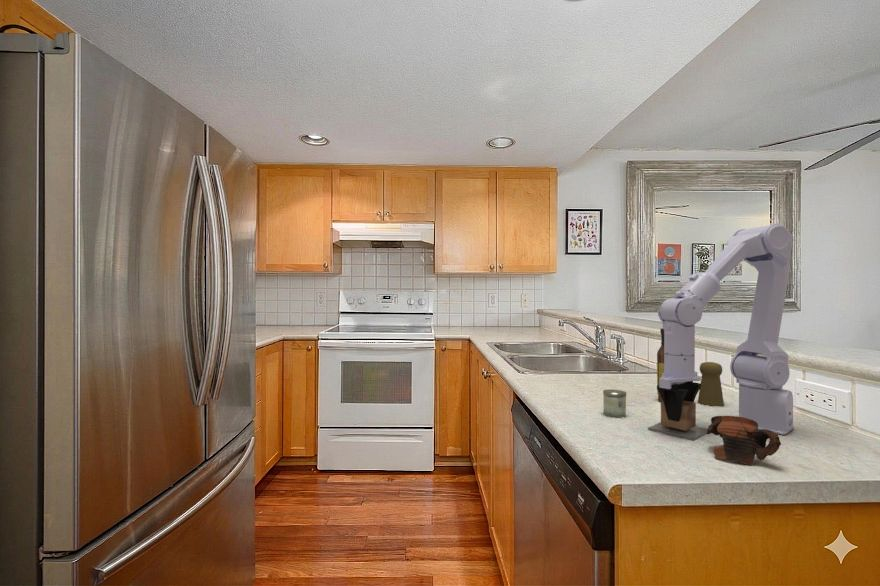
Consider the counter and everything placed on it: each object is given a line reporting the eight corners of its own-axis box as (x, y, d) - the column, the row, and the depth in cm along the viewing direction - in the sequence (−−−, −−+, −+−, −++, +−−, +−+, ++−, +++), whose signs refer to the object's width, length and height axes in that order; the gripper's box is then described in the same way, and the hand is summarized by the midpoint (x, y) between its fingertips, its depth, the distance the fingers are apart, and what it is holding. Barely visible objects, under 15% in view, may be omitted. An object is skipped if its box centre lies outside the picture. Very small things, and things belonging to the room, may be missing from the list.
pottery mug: (695, 457, 80) (695, 413, 83) (724, 472, 83) (723, 429, 87) (770, 461, 70) (767, 410, 73) (799, 477, 73) (794, 428, 77)
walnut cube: (671, 420, 97) (671, 398, 97) (695, 426, 93) (695, 402, 93) (660, 425, 94) (660, 401, 94) (685, 430, 90) (685, 406, 90)
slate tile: (710, 431, 93) (710, 429, 93) (693, 440, 87) (693, 438, 87) (666, 421, 100) (666, 419, 100) (648, 429, 94) (648, 427, 94)
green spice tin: (630, 415, 105) (630, 392, 105) (619, 419, 102) (619, 395, 102) (609, 410, 109) (609, 388, 109) (598, 414, 106) (598, 391, 106)
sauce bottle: (688, 404, 115) (688, 329, 115) (664, 404, 116) (664, 329, 116) (675, 398, 122) (675, 327, 122) (652, 398, 122) (652, 327, 122)
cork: (716, 401, 119) (716, 360, 119) (729, 407, 113) (729, 364, 113) (693, 400, 120) (693, 360, 120) (704, 406, 114) (704, 364, 114)
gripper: (685, 359, 86) (685, 429, 86) (712, 353, 95) (712, 415, 95) (649, 355, 91) (648, 420, 91) (678, 350, 100) (678, 409, 100)
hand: (679, 417), depth 93 cm, fingers closed on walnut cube, 5 cm apart
